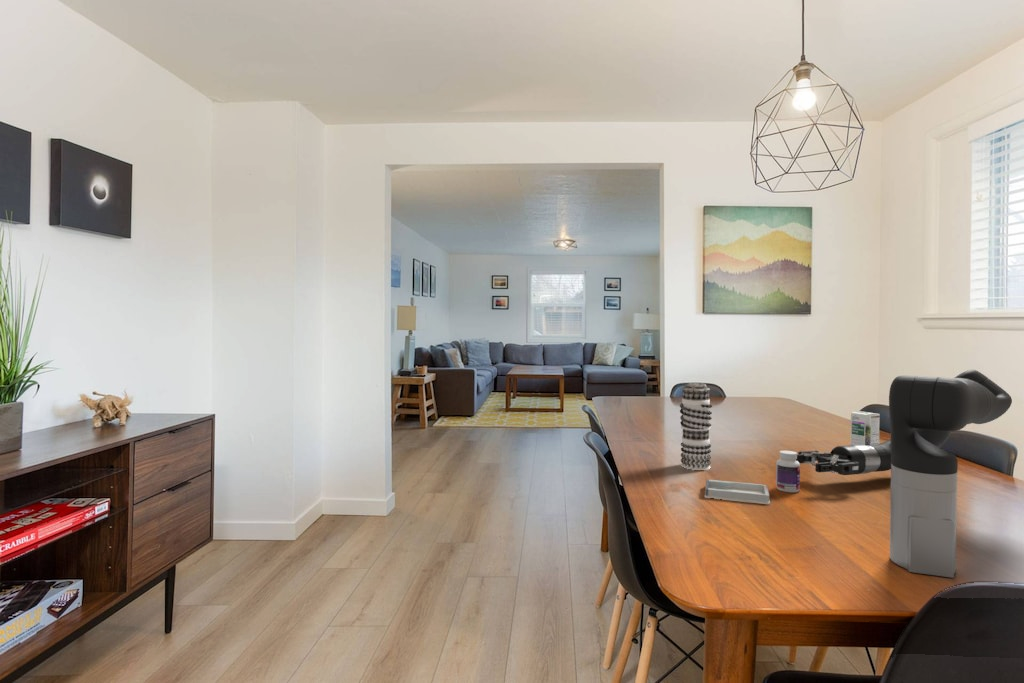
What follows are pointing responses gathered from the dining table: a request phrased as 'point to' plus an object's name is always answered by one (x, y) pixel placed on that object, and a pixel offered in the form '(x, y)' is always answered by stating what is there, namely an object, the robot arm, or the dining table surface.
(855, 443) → the syrup box
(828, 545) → the dining table surface
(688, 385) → the decorative candle
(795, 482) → the pill bottle
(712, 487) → the white rimmed tray
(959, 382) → the robot arm
